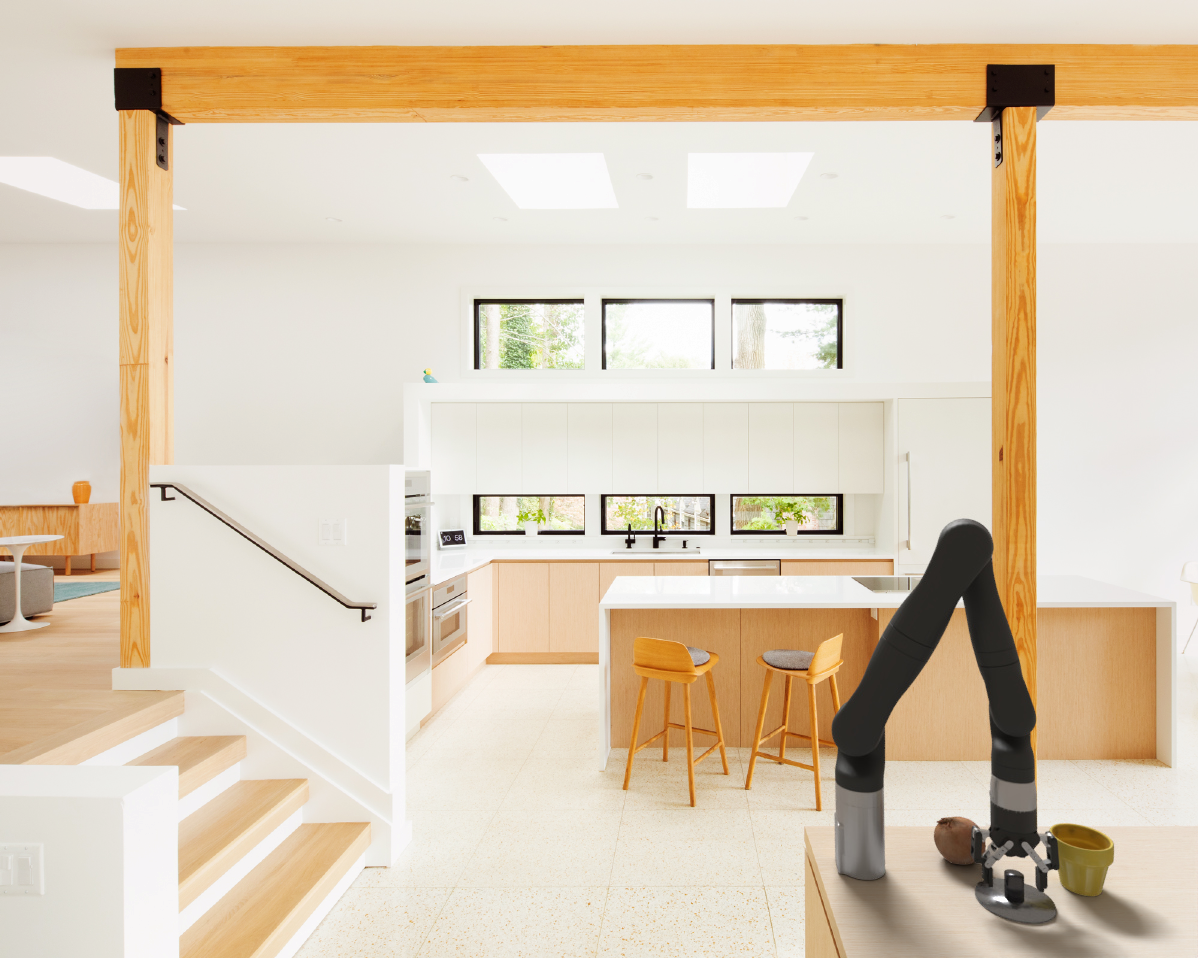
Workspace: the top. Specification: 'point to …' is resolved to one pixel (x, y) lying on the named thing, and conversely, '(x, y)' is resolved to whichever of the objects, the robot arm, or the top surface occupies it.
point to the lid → (1015, 899)
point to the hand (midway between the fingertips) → (1014, 887)
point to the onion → (955, 839)
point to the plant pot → (1083, 857)
